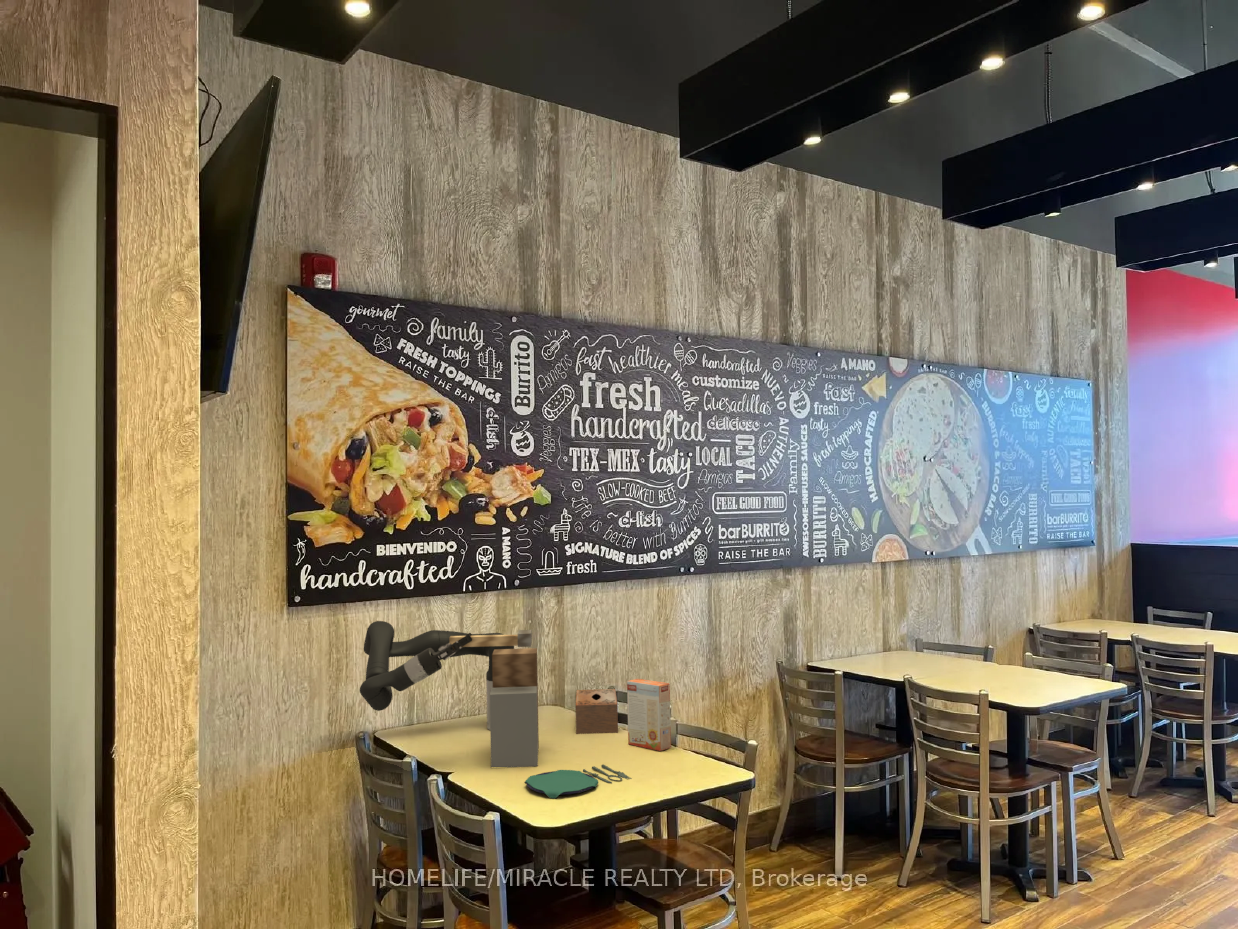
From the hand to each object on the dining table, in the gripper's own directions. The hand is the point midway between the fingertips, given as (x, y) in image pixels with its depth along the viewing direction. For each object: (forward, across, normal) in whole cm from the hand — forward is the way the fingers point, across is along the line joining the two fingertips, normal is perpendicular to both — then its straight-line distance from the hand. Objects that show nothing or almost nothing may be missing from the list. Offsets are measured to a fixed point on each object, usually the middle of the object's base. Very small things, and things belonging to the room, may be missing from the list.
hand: (471, 636), depth 278 cm
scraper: (+3, 0, -5) cm, 6 cm away
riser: (-8, -11, -40) cm, 42 cm away
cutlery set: (+8, +24, -50) cm, 56 cm away
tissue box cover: (+15, -43, -54) cm, 71 cm away
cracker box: (+29, -11, -62) cm, 69 cm away
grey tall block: (-8, +1, -40) cm, 41 cm away
